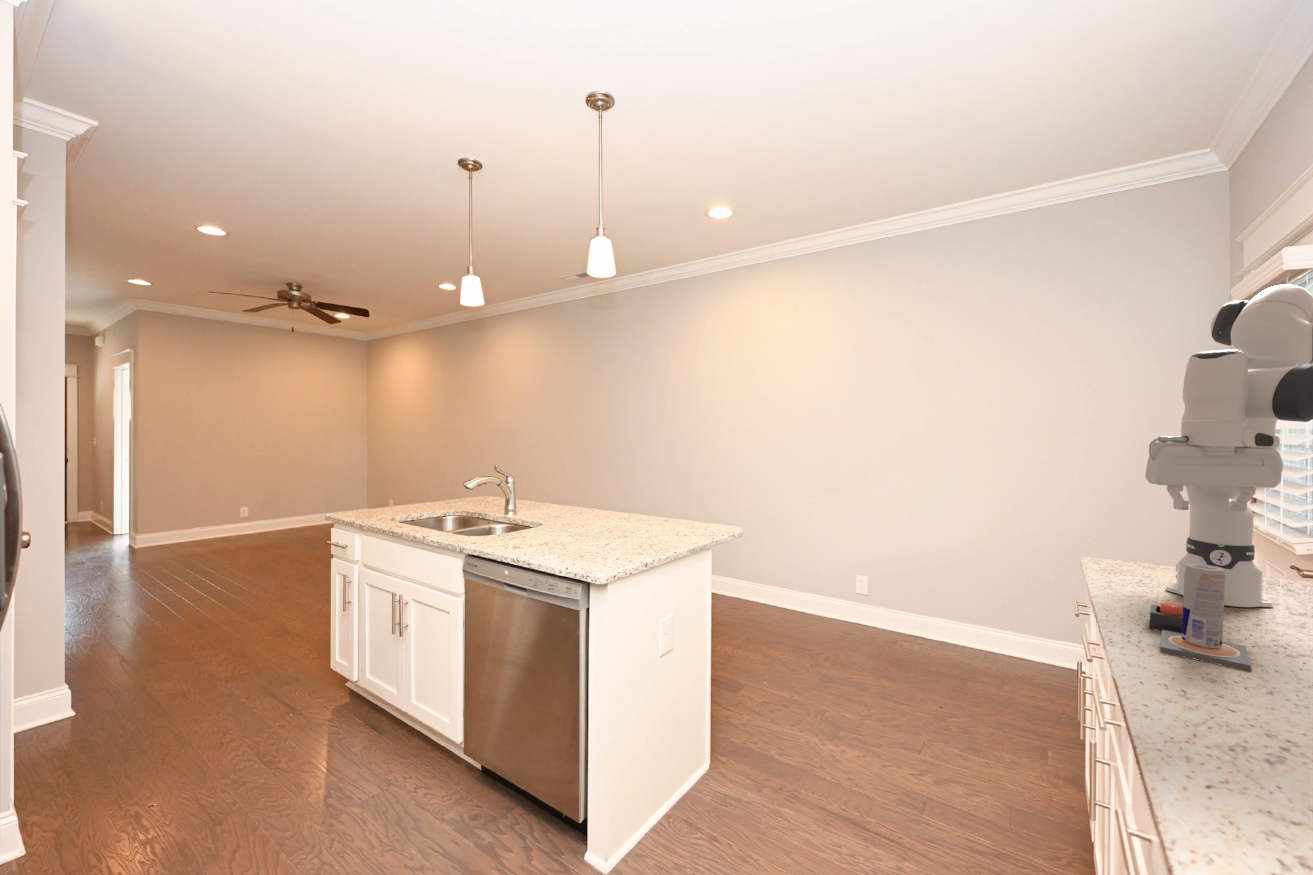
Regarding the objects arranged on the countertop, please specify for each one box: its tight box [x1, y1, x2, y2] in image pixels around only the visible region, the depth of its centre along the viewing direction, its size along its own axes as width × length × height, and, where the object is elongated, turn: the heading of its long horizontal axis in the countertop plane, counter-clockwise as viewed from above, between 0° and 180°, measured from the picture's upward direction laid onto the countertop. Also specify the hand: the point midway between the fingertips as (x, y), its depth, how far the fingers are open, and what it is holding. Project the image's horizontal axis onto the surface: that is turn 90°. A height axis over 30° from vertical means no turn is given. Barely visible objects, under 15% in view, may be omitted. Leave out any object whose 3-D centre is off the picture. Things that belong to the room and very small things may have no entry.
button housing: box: [1149, 603, 1183, 633], centre depth 122 cm, size 7×7×4 cm
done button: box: [1159, 602, 1183, 617], centre depth 121 cm, size 4×4×2 cm
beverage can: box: [1182, 563, 1225, 648], centre depth 110 cm, size 6×6×15 cm
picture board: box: [1159, 630, 1252, 672], centre depth 110 cm, size 12×12×1 cm
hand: (1209, 510), depth 109 cm, fingers open, 8 cm apart
